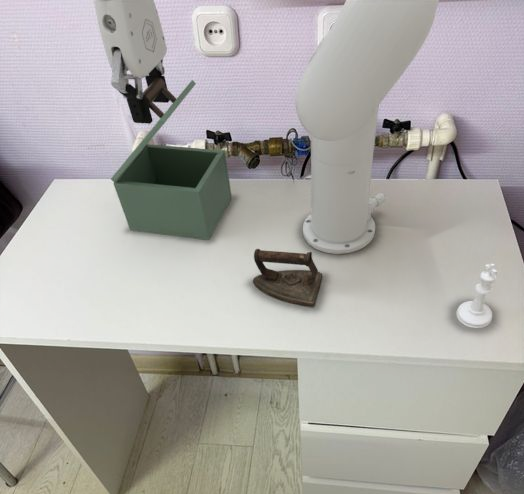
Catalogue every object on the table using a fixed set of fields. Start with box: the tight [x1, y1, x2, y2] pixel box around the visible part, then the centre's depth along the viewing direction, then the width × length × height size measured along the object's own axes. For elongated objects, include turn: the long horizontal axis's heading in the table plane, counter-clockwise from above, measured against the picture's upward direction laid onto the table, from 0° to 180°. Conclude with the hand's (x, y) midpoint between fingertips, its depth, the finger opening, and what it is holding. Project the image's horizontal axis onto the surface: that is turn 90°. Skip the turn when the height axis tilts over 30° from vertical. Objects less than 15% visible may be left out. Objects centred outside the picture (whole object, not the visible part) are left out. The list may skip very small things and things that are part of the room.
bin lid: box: [110, 78, 197, 183], centre depth 82 cm, size 17×13×5 cm
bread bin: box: [113, 143, 233, 241], centre depth 91 cm, size 16×13×10 cm
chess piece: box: [455, 262, 498, 329], centre depth 69 cm, size 5×5×10 cm
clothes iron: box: [252, 248, 323, 308], centre depth 77 cm, size 7×11×10 cm, turn 76°
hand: (152, 110), depth 80 cm, fingers closed on bin lid, 6 cm apart
